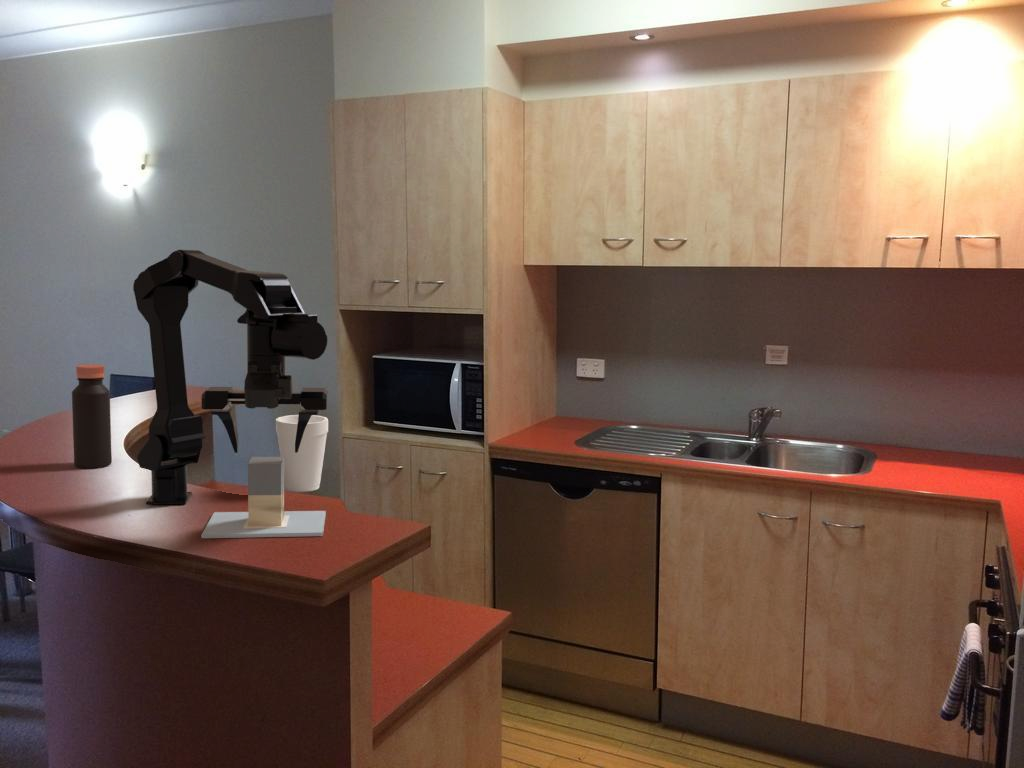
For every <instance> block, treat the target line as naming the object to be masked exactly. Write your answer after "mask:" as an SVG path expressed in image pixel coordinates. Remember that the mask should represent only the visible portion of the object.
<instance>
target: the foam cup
mask: <svg viewBox="0 0 1024 768" xmlns="http://www.w3.org/2000/svg"><path fill="white" fill-rule="evenodd" d="M298 416H299V414H291V415H283V416H279V417H277V418H276V419H275V432H276V433H277V441H278V449H279V457H284V490H286V491H289V492H295V493H301V492H302V493H303V492H304V493H306V492H307V493H308V492H313V491H316V490H318V489H319V488H320V484H321V480H322V474H323V473H322V472H323V464H324V457H325V450H326V444H327V443H326V442H327V436H328V433H329V419H328V417H326V416H324V415H323V416H322V415H312V416H311V417H310V419H309V422H308V424H307V426H306V428H305V430H304V434H303V437H302V440H301V443H300V446H299V450H298V453H295V440H296V432H297V425H298Z"/></svg>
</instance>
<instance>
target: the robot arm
mask: <svg viewBox="0 0 1024 768" xmlns="http://www.w3.org/2000/svg"><path fill="white" fill-rule="evenodd" d="M199 282H202V283H204V284H207V285H210V286H212V287H214V288H217V289H219V290H222V291H224V292H227V293H228V294H229V295H231V296H232V299H233V300H234V302H235V303H237V304H238V305H240V306H241V307H243V308H244V309H246V310H245V312H244V313H242V315H241V316H239V317H238V318H237V320H236V321H237V323H238V324H240V325H241V324H242V325H243V324H244V325H246V345H247V346H246V352H247V353H246V357H247V359H246V361H247V363H246V364H247V365H246V366H247V372H246V373H247V374H246V376H245V379H244V387H243V389H244V392H242V391H241V392H239V391H236V392H235V391H234V389H233V387H232V386H210V387H208V388H207V389H206V390H204V392H203V393H202V395H201V409H202V410H210V415H213V416H217V417H218V418H219V419H220V421H221V422H222V423H223V425H224V428H225V431H226V433H227V436H228V439H229V441H230V443H231V446H232V449H233V451H234V453H235V454H237V453H239V431H238V423H237V422H238V421H237V411H236V405H244V406H245V407H246V408H248V409H256V408H267V409H276V408H277V407H279V405H300V408H299V411H298V415H299V416H298V425H297V432H296V440H295V453H298V450H299V446H300V443H301V440H302V437H303V434H304V430H305V428H306V426H307V424H308V422H309V419H310V417H311V416H312V415H317V416H319V412H320V411H326V410H327V409H328V406H329V403H328V401H329V397H328V396H329V395H328V394H329V392H328V390H327V389H326V388H325V387H302V389H301V392H293V380H292V377H293V376H292V375H287V374H286V357H287V358H296V359H305V360H317V359H319V358H320V357H322V355H324V353H325V351H326V348H327V345H328V335H327V333H326V330H325V328H324V327H323V325H322V324H321V323H319V322H318V314H316V313H306V312H305V311H304V309H303V308H304V307H303V306H302V304H301V302H300V300H299V298H298V297H297V295H296V293H295V291H294V289H293V287H292V285H291V283H290V279H289V277H288V276H287V275H285V274H283V273H280V272H279V273H278V272H270V271H269V272H268V271H259V270H257V271H256V270H250V269H249V270H248V269H246V268H243V267H240V266H237V265H235V264H232V263H230V262H227V261H224V260H221V259H218V258H216V257H214V256H211V255H207V254H206V253H205V252H203V251H201V250H197V249H176V250H174V251H173V252H171V253H170V254H169V255H168V256H167V257H166V258H164V259H162V260H160V261H158V262H155V263H154V264H152V265H149V266H148V267H147V268H146V269H145V270H143V271H141V272H140V273H139V274H138V275H137V278H135V279H134V281H133V286H132V287H133V288H132V289H133V290H132V291H133V294H134V299H135V303H136V306H137V307H136V308H137V310H138V312H139V313H140V314H141V315H142V317H143V318H144V320H145V321H146V323H147V324H148V327H149V336H150V349H151V356H152V366H153V367H152V368H153V379H154V389H155V390H154V391H155V400H156V411H155V413H154V415H153V416H152V419H151V420H150V422H149V426H148V440H147V442H146V443H145V444H144V446H143V447H142V448H141V450H140V451H139V452H138V454H137V456H136V458H137V462H138V467H139V469H140V468H141V469H144V470H145V469H146V470H149V471H151V495H150V496H149V497H148V498H147V499H146V502H145V503H146V505H185V504H187V503H188V501H189V500H190V498H191V497H192V496H193V492H192V491H188V474H187V467H188V466H187V465H190V464H191V465H192V464H198V462H199V458H200V455H201V451H202V449H203V444H204V439H205V438H206V437H205V434H204V431H203V421H204V420H203V418H202V416H201V415H195V413H194V412H193V411H192V409H191V408H190V406H189V403H188V402H189V401H188V390H187V380H186V379H187V378H186V371H185V370H186V369H185V368H186V367H185V359H184V357H185V356H184V348H183V338H182V337H183V335H182V327H181V325H182V324H181V322H182V320H183V318H184V317H185V314H186V312H187V310H188V308H189V295H190V293H192V292H193V291H194V290H195V289H196V288H197V287H199Z"/></svg>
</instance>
